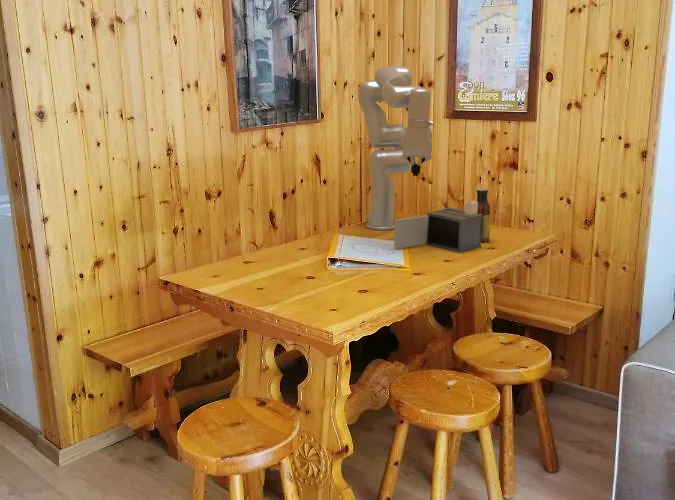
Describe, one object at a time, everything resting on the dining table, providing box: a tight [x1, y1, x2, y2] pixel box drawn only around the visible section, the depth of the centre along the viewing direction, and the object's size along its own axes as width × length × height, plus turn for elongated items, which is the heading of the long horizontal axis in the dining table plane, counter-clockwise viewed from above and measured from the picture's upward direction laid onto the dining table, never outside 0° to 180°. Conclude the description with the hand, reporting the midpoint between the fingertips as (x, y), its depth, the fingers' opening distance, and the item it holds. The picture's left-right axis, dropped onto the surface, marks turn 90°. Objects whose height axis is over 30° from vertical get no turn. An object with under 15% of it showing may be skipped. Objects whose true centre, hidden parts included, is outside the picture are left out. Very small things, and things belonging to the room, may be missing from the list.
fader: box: [464, 199, 478, 215], centre depth 259 cm, size 3×4×5 cm
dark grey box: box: [426, 207, 483, 254], centre depth 263 cm, size 16×12×12 cm
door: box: [393, 214, 428, 249], centre depth 260 cm, size 15×2×11 cm, turn 123°
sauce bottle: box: [476, 188, 491, 243], centre depth 269 cm, size 7×6×20 cm
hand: (415, 175), depth 257 cm, fingers closed
